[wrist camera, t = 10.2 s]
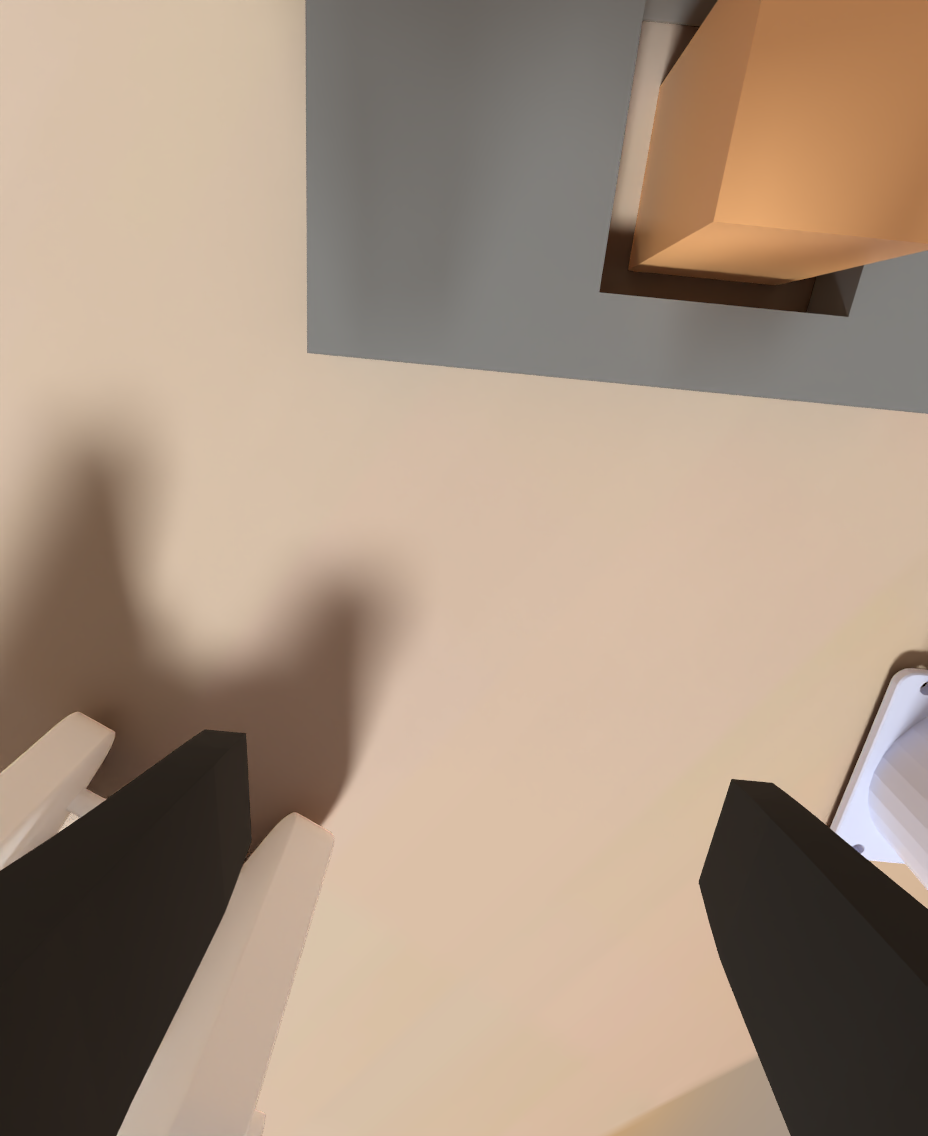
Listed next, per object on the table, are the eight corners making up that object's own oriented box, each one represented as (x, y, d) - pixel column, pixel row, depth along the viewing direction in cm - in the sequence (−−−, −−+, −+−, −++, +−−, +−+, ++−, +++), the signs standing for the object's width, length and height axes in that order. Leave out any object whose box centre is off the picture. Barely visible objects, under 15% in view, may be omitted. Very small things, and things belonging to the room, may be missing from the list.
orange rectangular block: (822, 103, 14) (1055, -68, 8) (775, 285, 15) (947, 245, 10) (659, 86, 14) (781, -96, 8) (627, 270, 15) (713, 221, 10)
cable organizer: (110, 660, 20) (-332, 1025, 9) (361, 807, 22) (245, 1250, 11) (-34, 903, 24) (-447, 1343, 14) (186, 1007, 26) (-21, 1464, 16)
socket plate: (1088, -180, 12) (1200, -278, 10) (887, 407, 16) (939, 414, 14) (331, -259, 12) (303, -373, 10) (327, 353, 16) (307, 352, 14)
